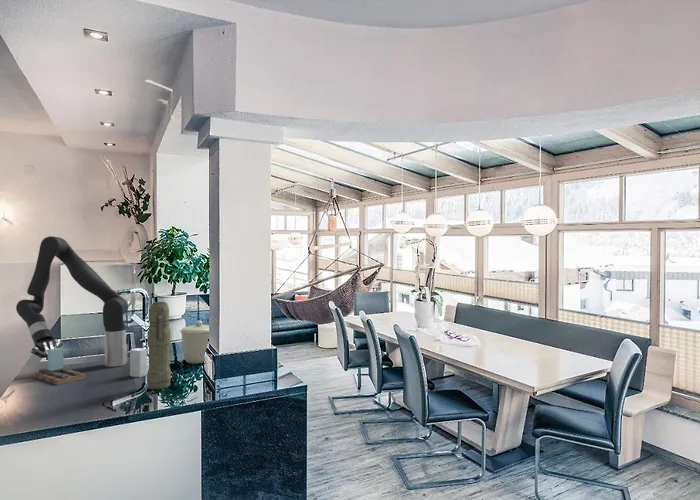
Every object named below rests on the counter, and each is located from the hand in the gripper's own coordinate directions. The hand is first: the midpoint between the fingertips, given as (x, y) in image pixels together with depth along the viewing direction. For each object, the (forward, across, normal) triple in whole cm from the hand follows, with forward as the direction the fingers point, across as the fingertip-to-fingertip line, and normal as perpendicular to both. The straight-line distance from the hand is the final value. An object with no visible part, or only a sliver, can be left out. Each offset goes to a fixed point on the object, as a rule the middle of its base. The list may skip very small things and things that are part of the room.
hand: (53, 363), depth 192 cm
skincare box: (+28, +20, -19) cm, 39 cm away
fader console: (+8, 0, 0) cm, 8 cm away
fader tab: (+4, 0, +1) cm, 4 cm away
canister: (+29, +51, -21) cm, 63 cm away
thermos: (+43, +16, -35) cm, 58 cm away
